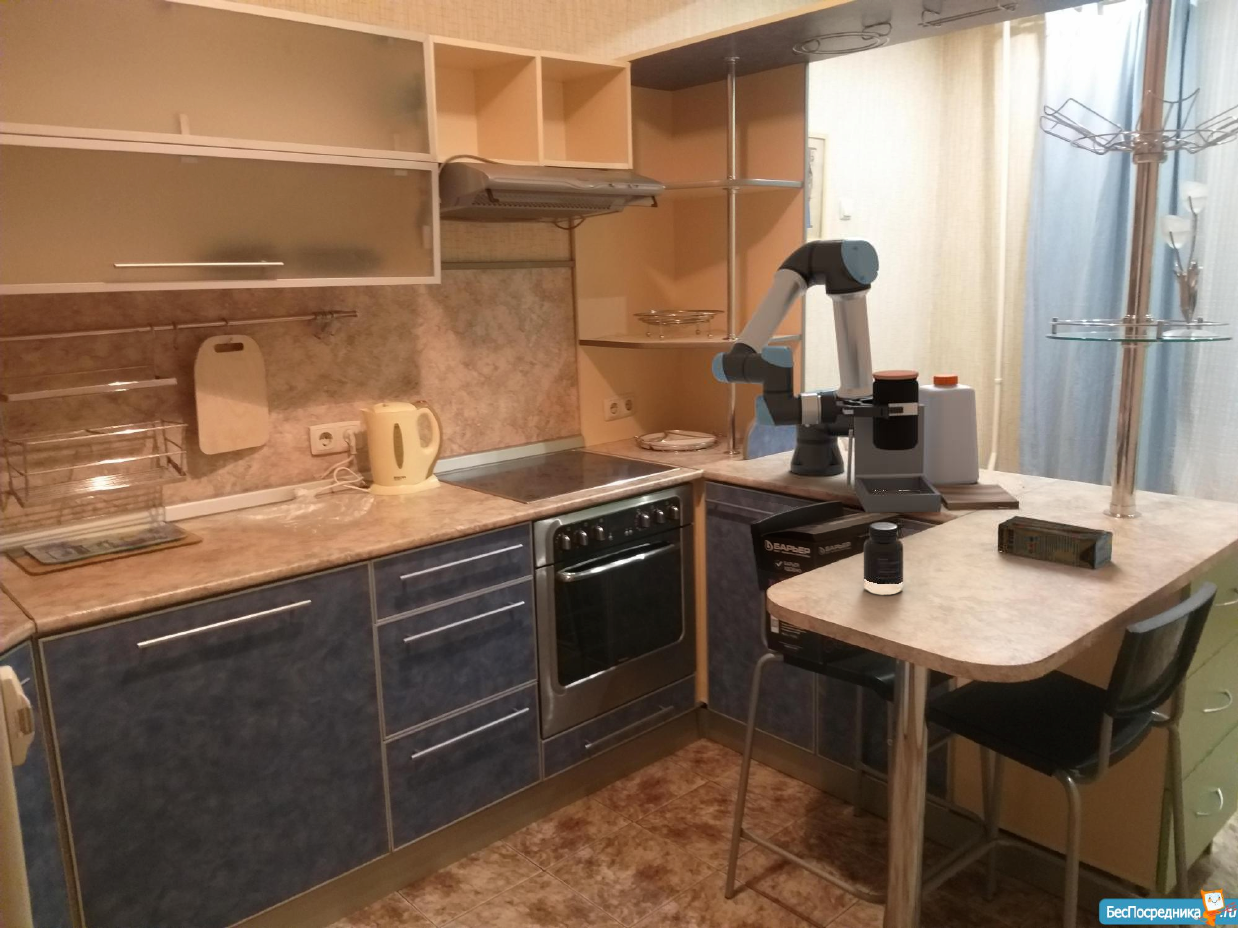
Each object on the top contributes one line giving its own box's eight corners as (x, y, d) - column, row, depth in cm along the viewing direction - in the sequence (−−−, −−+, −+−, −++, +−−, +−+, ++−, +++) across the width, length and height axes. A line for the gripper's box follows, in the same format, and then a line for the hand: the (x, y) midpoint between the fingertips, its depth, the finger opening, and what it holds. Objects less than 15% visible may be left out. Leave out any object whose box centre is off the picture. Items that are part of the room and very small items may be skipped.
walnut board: (932, 491, 237) (932, 485, 237) (997, 490, 235) (997, 484, 234) (947, 508, 219) (947, 502, 219) (1018, 507, 217) (1019, 501, 217)
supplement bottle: (858, 585, 170) (858, 521, 168) (894, 582, 171) (895, 519, 168) (871, 597, 164) (871, 531, 161) (909, 594, 164) (909, 528, 162)
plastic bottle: (930, 488, 240) (932, 380, 234) (904, 476, 255) (905, 374, 249) (985, 483, 242) (988, 376, 237) (955, 472, 257) (958, 370, 251)
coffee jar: (913, 441, 231) (913, 369, 227) (922, 450, 221) (923, 374, 217) (869, 443, 232) (868, 371, 229) (876, 451, 222) (876, 376, 218)
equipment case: (846, 486, 247) (846, 404, 242) (918, 485, 244) (919, 401, 240) (859, 512, 220) (859, 420, 216) (940, 511, 218) (942, 418, 213)
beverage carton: (1095, 572, 172) (1097, 537, 170) (994, 553, 186) (995, 521, 184) (1112, 561, 177) (1114, 528, 175) (1013, 544, 191) (1014, 513, 190)
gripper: (815, 416, 239) (904, 412, 236) (823, 432, 216) (921, 428, 214) (814, 387, 237) (904, 383, 234) (823, 400, 215) (922, 396, 212)
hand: (912, 405), depth 224 cm, fingers closed on coffee jar, 11 cm apart
